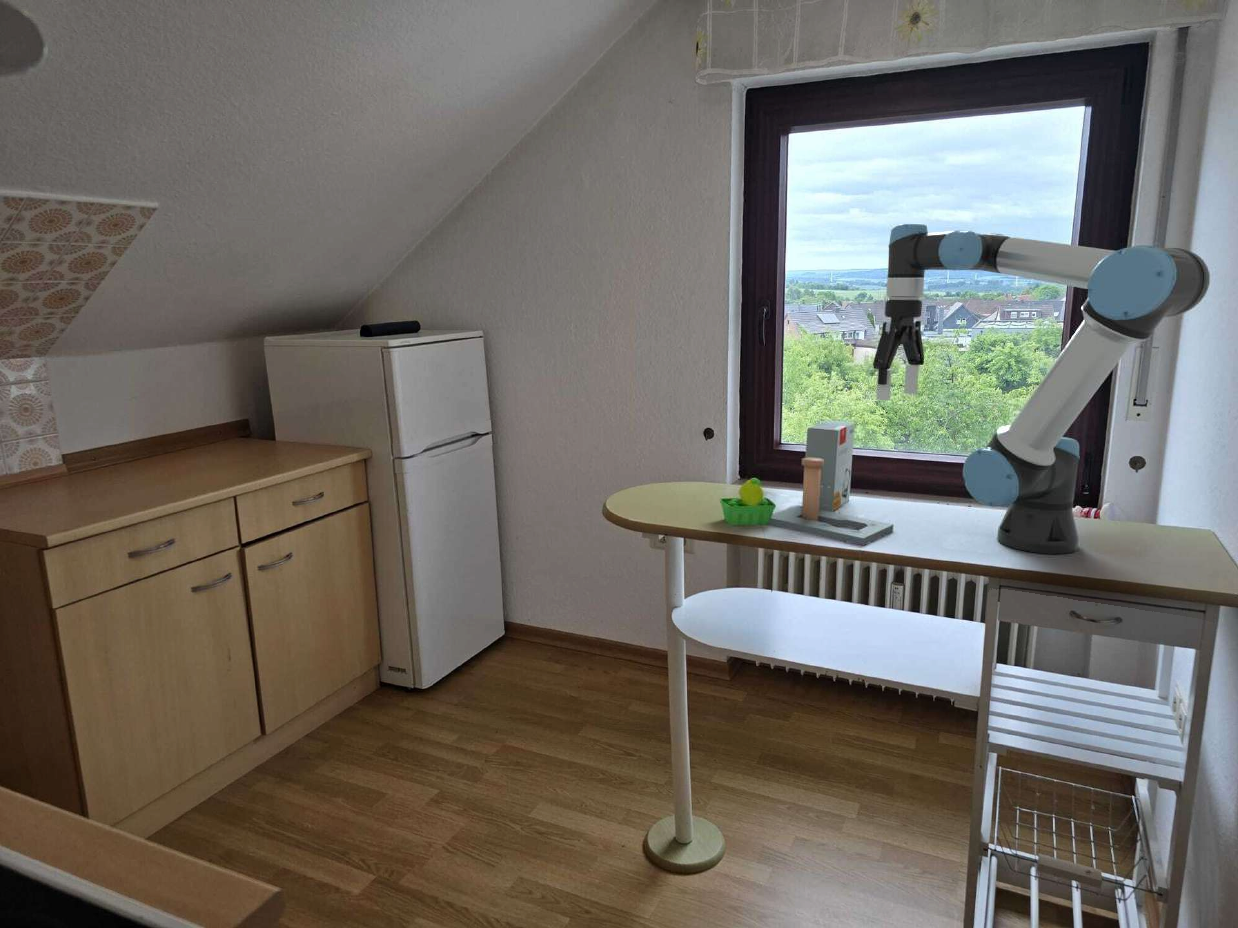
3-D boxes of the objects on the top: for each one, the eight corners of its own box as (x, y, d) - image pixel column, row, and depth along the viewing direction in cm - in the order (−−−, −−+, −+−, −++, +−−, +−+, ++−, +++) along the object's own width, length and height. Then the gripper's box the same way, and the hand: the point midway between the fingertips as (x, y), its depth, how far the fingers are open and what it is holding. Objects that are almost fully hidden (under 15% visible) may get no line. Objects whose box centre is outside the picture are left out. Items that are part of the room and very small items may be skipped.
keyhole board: (893, 530, 184) (893, 524, 184) (862, 545, 174) (863, 538, 174) (797, 511, 200) (797, 505, 200) (764, 523, 190) (765, 516, 190)
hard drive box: (832, 513, 198) (837, 430, 194) (801, 509, 202) (805, 427, 198) (850, 499, 211) (855, 421, 207) (820, 495, 215) (824, 418, 211)
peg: (824, 523, 190) (828, 459, 187) (813, 527, 187) (817, 462, 184) (805, 519, 194) (809, 456, 190) (794, 523, 190) (797, 459, 187)
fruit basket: (765, 517, 196) (767, 470, 194) (778, 528, 188) (780, 479, 185) (718, 519, 195) (719, 472, 192) (728, 530, 186) (730, 480, 184)
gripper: (912, 297, 192) (905, 390, 197) (860, 299, 174) (854, 400, 179) (944, 298, 187) (936, 393, 192) (894, 299, 169) (887, 404, 174)
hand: (897, 396), depth 185 cm, fingers open, 13 cm apart
